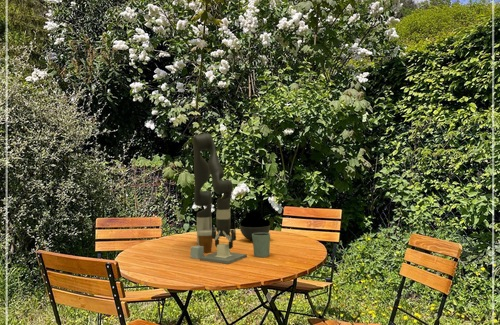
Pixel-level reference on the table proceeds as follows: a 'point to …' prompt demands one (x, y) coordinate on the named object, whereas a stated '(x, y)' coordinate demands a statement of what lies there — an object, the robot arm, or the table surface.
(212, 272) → the table surface
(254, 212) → the coal bowl
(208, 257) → the board
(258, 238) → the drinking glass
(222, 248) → the cream block
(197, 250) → the blue grey block
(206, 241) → the disposable coffee cup
